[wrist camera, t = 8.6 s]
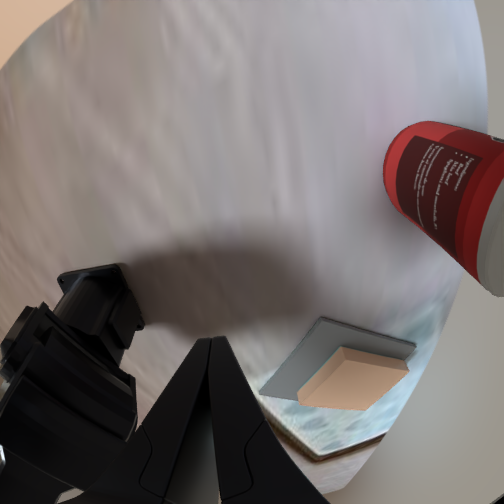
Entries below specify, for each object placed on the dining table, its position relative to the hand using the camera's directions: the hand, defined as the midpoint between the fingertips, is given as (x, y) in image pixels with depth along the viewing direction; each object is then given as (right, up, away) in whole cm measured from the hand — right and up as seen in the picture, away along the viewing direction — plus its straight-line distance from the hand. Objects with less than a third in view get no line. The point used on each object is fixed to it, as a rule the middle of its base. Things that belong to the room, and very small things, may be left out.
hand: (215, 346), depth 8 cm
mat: (+11, -10, +20) cm, 25 cm away
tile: (+8, -10, +18) cm, 22 cm away
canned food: (+14, +9, +10) cm, 19 cm away
